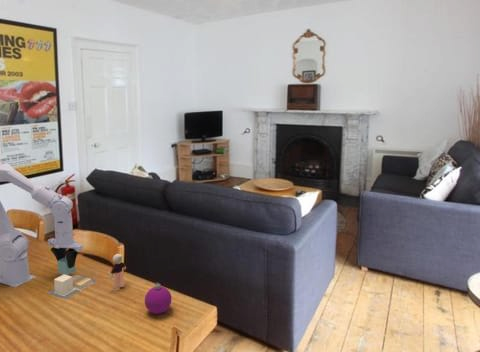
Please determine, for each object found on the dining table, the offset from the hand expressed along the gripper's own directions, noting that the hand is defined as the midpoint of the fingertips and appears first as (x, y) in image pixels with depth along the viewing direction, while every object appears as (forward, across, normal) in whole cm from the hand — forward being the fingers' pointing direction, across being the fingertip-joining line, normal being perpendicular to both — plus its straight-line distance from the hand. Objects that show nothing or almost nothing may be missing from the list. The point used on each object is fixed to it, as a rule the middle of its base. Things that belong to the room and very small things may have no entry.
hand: (66, 265), depth 133 cm
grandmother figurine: (+5, +22, +2) cm, 22 cm away
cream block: (+4, +7, -8) cm, 11 cm away
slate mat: (+5, +7, -4) cm, 9 cm away
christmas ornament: (+5, +42, -4) cm, 43 cm away
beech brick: (+4, +7, -2) cm, 9 cm away
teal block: (+2, 0, 0) cm, 2 cm away
